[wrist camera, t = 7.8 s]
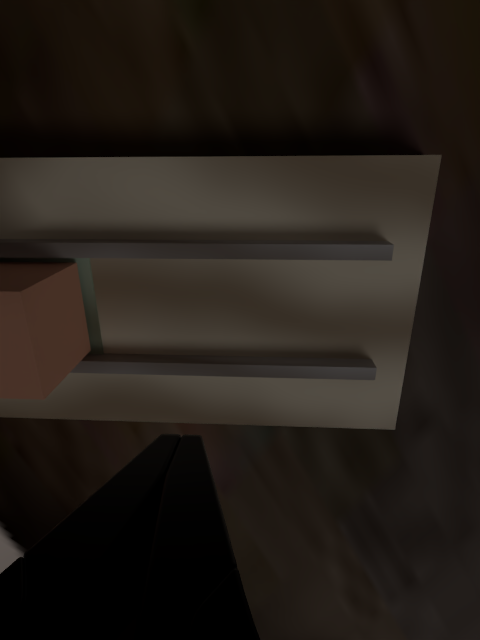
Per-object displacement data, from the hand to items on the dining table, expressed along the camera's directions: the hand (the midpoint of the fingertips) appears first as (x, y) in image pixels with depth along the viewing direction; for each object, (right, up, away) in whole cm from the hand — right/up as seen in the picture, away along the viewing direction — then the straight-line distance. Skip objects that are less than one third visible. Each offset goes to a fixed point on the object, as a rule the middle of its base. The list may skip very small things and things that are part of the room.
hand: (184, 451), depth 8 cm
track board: (-1, +4, +10) cm, 11 cm away
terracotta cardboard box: (-8, +3, +9) cm, 12 cm away
